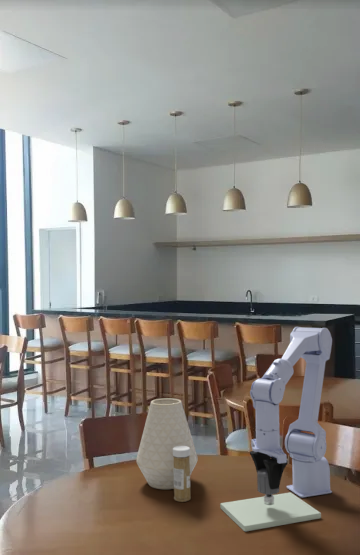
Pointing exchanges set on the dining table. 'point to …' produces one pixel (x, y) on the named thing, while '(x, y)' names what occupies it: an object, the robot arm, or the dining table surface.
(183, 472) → the sprinkles bottle
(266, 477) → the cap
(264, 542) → the dining table surface
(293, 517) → the post board
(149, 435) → the vase
